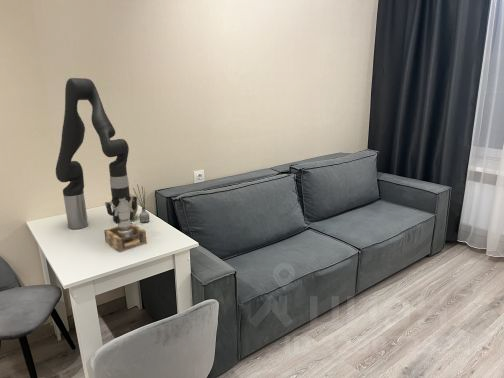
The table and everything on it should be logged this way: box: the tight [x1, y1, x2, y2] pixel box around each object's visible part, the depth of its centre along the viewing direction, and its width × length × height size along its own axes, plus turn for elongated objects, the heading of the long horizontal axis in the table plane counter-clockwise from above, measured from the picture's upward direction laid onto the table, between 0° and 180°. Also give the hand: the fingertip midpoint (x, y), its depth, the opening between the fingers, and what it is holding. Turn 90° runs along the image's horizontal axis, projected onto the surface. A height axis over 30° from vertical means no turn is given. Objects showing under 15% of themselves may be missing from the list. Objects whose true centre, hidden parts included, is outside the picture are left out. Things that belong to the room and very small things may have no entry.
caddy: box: [103, 222, 148, 253], centre depth 170 cm, size 14×13×6 cm
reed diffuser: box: [132, 184, 150, 223], centre depth 193 cm, size 10×7×20 cm
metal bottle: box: [115, 197, 133, 238], centre depth 168 cm, size 6×7×20 cm
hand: (123, 221), depth 168 cm, fingers closed on metal bottle, 6 cm apart
